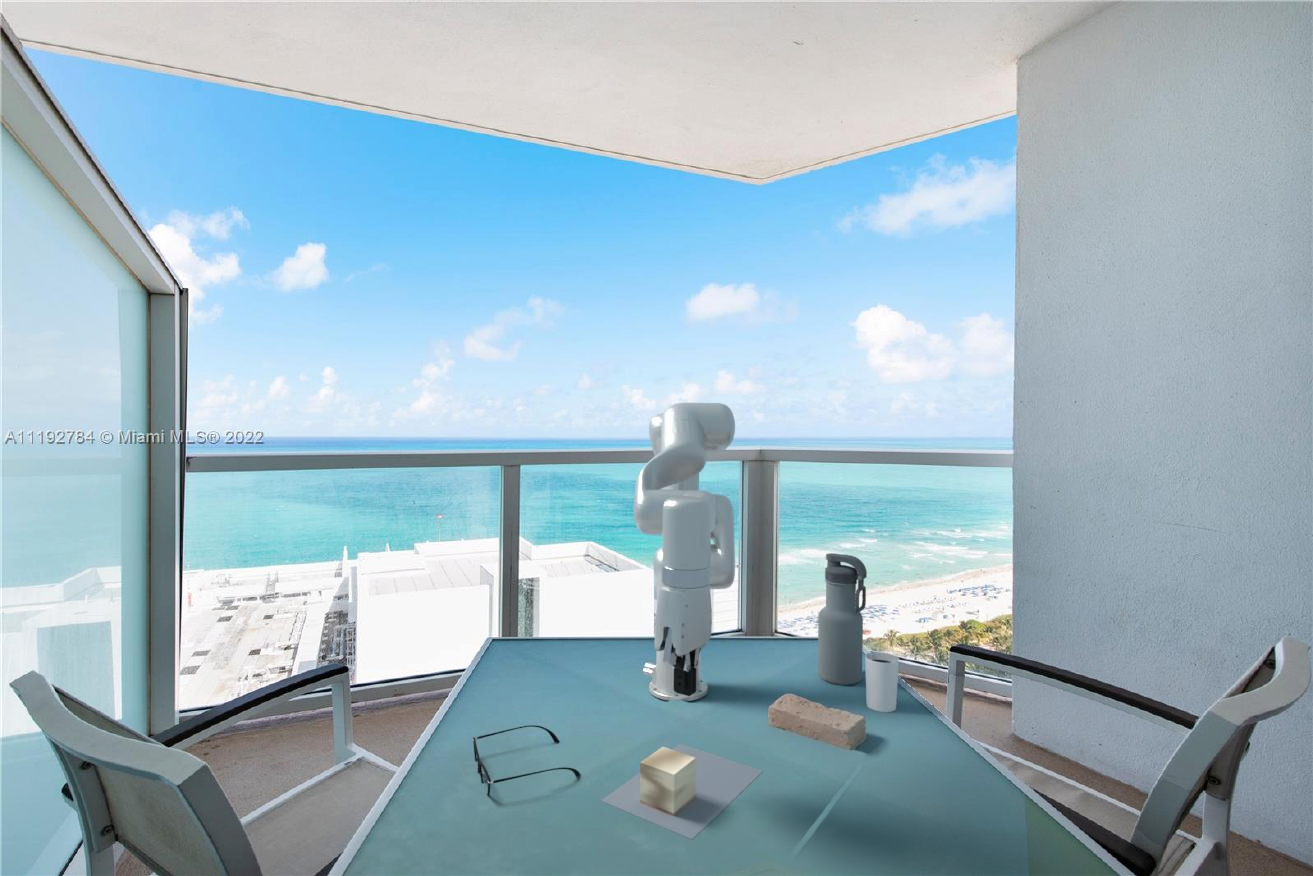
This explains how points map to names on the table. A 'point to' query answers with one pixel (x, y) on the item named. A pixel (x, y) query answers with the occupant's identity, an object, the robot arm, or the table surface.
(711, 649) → the table surface
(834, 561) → the water bottle
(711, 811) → the mat
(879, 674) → the white cup
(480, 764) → the eyeglasses
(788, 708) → the brick
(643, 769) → the cube
